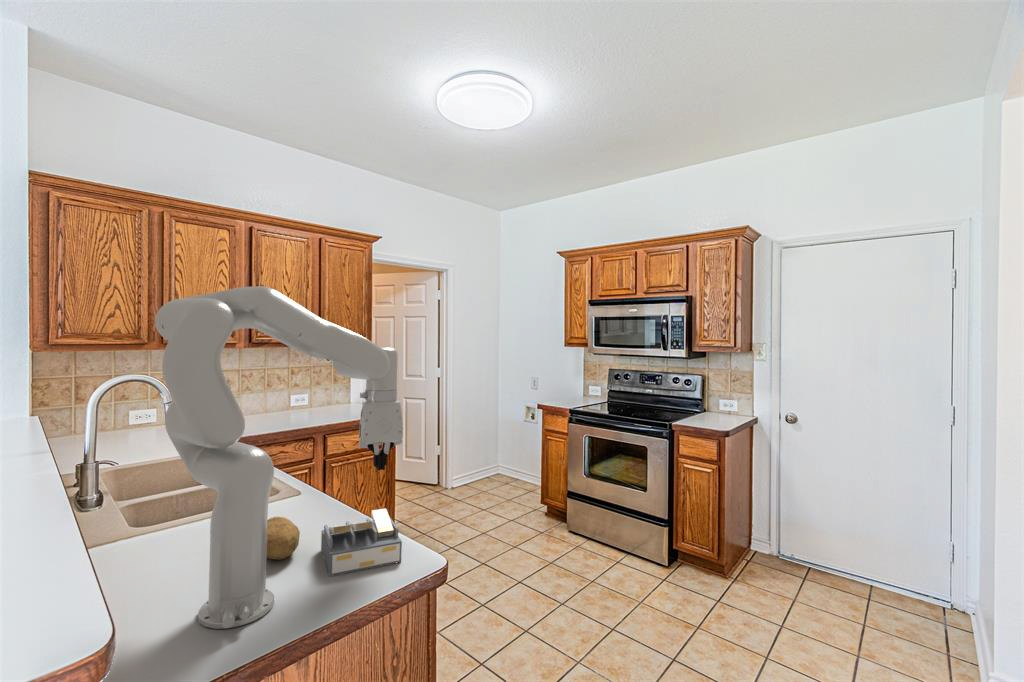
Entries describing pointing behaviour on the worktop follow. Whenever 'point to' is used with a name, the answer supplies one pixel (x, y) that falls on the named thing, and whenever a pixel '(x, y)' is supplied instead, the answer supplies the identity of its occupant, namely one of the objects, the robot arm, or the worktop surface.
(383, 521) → the block
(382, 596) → the worktop surface
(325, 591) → the worktop surface
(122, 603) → the worktop surface
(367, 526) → the rocker
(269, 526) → the potato
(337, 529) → the rocker
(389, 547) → the box
